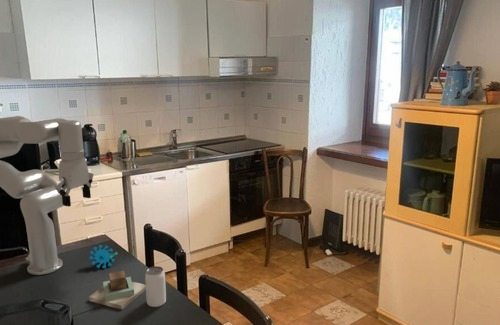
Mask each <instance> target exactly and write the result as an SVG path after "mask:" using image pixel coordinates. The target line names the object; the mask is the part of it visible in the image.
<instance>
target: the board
mask: <svg viewBox="0 0 500 325" xmlns="http://www.w3.org/2000/svg"><path fill="white" fill-rule="evenodd" d="M132 284H133V288H134V295H131V296H126V297H121V298H116V299H112V300H107V301H105V294H104V288H103V286H102V287H101V288H98V289H97V290H96V291H95V292H93V293H92V294H90V295H89V296H88V301H89V302H93V303H96V304H100V305H103V306H107V307H110V308H114V309H117V310H124V309H125V308H126V307H128V305H130V304H131V303H132V302H133V301H135V300H136V299H137V298H138V297H140V295H142V294H143V293H144V292H146V283H145V284H144V283H140V282H135V281H132ZM126 287H127V289H128V286H127V285H126ZM109 292H111V289H110V288H109Z"/></svg>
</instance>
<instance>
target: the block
mask: <svg viewBox="0 0 500 325" xmlns="http://www.w3.org/2000/svg"><path fill="white" fill-rule="evenodd" d="M108 276H109V281H110V289H111V292H113V291H118V290H123V289H127V287H126V277H127V276H126V274H125V270H121V271H115V272H110V273H108Z"/></svg>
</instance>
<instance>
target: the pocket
mask: <svg viewBox="0 0 500 325" xmlns="http://www.w3.org/2000/svg"><path fill="white" fill-rule="evenodd" d="M132 282H133V281H132V277H131V276H126V285H127V286H128V289H123V290H118V291H113V292H109V288H110V280H106V281H103V282H102V287H103V288H104V294H105V301H107V300H112V299H116V298H121V297H126V296H131V295H134V288H133V284H132Z"/></svg>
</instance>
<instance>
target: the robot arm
mask: <svg viewBox="0 0 500 325" xmlns="http://www.w3.org/2000/svg"><path fill="white" fill-rule="evenodd" d="M53 141H58V142H59V149H60V159H61V160H60V161H59V165H58V182H57V181H56V180H54V179H53V178H52V177H51V176H50V175H49V174H48V173H47V172H45V171H43V170H42V169H30V170H26V171H20V170H18V169H17V168H15V167H14V165H12V164H10V163H9V162H6V161H4V160H0V188H1V189H2V190H4V191H5V192H6V194H8V195H9V196H10V197H12V198H13V199H20V202H19V205H20V206H19V207H20V210H21V211H20V212H21V213H22V216H23V218H24V222H25V228H26V234H27V242H28V243H27V244H28V249H29V250H28V252H29V253H28V255H27V256H26V257H25V260H26V261H27V262H29V264H28V265H27V268H26V269H27V273H28V274H31V275H34V276H42V275H47V274H51V273H55V272H56V271H58V270H59V269H60V268H62V266H63V265H64V264H63V260H62V259H61V258H59V257H58V249H57V240H56V231H55V225H54V222H53V220H52V219H51V218H50V217H49V215H48V214H49V213H51V212H54V211H56V210H58V209H60V208H62V207H71V206H72V202H71V196H70V195H69V194H70V192H71V190H72V189H76V188H79V187H81V186H82V187H81V192H82V197H83V198H84V199H91V198H92V196H91V187H92V183H93V178H94V173H91V172H89V168H88V164H87V160H86V157H85V150H84V142H83V130H82V124H81V122H80V121H78V120H71V119H70V120H67V119H65V118H62V117H61V118H58V117H57V118H51V119H44V120H38V121H31V120H30V119H29V118H27V117H24V116H20V115H15V116H14V115H13V116H8V117H0V159H2V158H6V157H11V156H14V155H16V154H17V153H19V151H20V150H21V148H22V146H23V145H24V144H32V145H33V144H46V143H48V142H53Z"/></svg>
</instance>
